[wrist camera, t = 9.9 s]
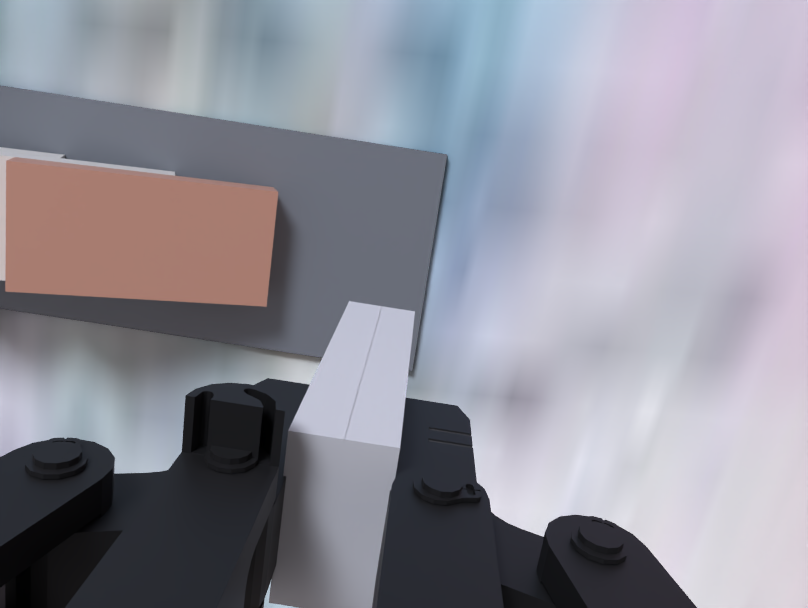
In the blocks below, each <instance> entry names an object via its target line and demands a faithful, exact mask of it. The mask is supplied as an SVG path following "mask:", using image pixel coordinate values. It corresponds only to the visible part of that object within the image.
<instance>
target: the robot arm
mask: <svg viewBox="0 0 808 608" xmlns="http://www.w3.org/2000/svg"><path fill="white" fill-rule="evenodd" d="M414 316H415V311H409V310H403V309H396V308H390V307H384V306H377V305H371V304H364V303H358V302H351V301H349V303H348V305H347V307H346V309H345V311H344V313H343V315H342V317H341V320H340V322H339V324H338V326H337V328H336V330H335V332H334V334H333V337H332V339H331V341H330V343H329V345H328V347H327V349H326V351H325V354H324V356H323V358H322V360H321V362H320V364H319V366H318V368H317V371H316V373H315V375H314V377H313V379H312V381H311V383H310V385H307V384H301V383H295V382H288V381H282V380H276V379H269V378H268V379H266V380H263V381H261V382H259V383H257V384H255V385H249V384H238V383H223V384H211V385H208V386H204V387H201V388H197V389H195V390H193V391H192V392H190V393H189V394H187V395H186V399H185V414H184V429H183V444H182V452H181V454H180V455H179V456H178V458H177V459H176V460H175V462H174V463H173V464H172V466H171V467H170V468H169V470H167V471H162V472H152V473H127V474H114V462H115V457H114V456H113V455H112V453H111V452H110V451H109V449H108V448H106V447H104V446H102V445H99V444H97V443H95V442H91V441H85V440H80V439H77V438H67V439H64V438H53V439H50V440H46V441H41V442H35V443H31V444H29V445H26V446H24V447H21V448H18V449H16V450H13V451H11V452H9V453H8V454H6V455H4V456H2V457H0V608H263V607H264V598H265V595H266V593H267V590H268V587H269V584H270V581H271V588H270V597H269V603H274V604H281V605H287V606H293V607H300V608H697V607H696V606H695V605H694V604H693V602H692V601H691V600H690V599H689V598H688V596H687V595H686V594H685V593H684V592H683V590H682V589H681V588H680V587H679V585H678V584H677V583H676V582H675V581H674V579H673V578H672V577H671V576H670V575H669V573H668V572H667V571H666V570H665V569H664V567H663V566H662V565H661V564H660V563H659V561H658V560H657V559H656V558H655V557H654V555H653V554H652V553H651V552H650V551H649V549H648V548H647V547H646V546H645V545H644V544H643V543H642V542H641V541H640V540H638V539H637V538H636V537H635V536H634V535H633V534H631V533H630V532H628V531H626V530H624V529H622V528H621V527H619V526H617V525H616V524H615V523H612V522H610V521H607V520H605V521H604V520H602V518H598V517H594V516H590V517H589V516H581V515H570V516H561V517H558V518H557V519H555V520H553V521H551V522H550V523H549V524H548V527H547V529H546V532H545V535H544V537H542V536H539V535H536V534H533V533H531V532H528V531H525V530H522V529H520V528H517V527H515V526H513V525H511V524H508V523H506V522H505V521H503V520H502V519H500V518H498V517H497V516H495V515H494V514H493V513H492V512H491V508H490V501H489V498H488V495H487V493H486V491H485V489H484V488H483V487H482V486H480V485H479V484H478V483H477V481H476V472H475V463H474V454H473V448H472V436H471V427H470V419H469V418H468V417H467V416H466V415H465V414H464V413H463V412H462V411H461V409H460V408H459V407H458V406H455V405H449V404H442V403H436V402H430V401H423V400H417V399H410V398H406V389H407V380H408V371H409V362H410V353H411V344H412V334H413V325H414Z"/></svg>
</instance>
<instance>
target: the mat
mask: <svg viewBox="0 0 808 608" xmlns="http://www.w3.org/2000/svg"><path fill="white" fill-rule="evenodd" d="M0 147H4V148H12V149H20V150H29V151H37V152H46V153H54V154H62V155H65V159H72V160H80V161H88V162H97V163H105V164H114V165H122V166H131V167H139V168H148V169H156V170H164V171H173V172H175V176H182V177H191V178H199V179H208V180H216V181H225V182H234V183H242V184H251V185H259V186H268V187H274V188H275V189H276V190H277V191H278V200H277V210H276V220H275V229H274V239H273V249H272V258H271V268H270V278H269V287H268V297H267V307H264V306H247V305H230V304H212V303H195V302H178V301H160V300H143V299H126V298H108V297H91V296H74V295H56V294H39V293H22V292H5V281H2V280H0V308H1V309H8V310H14V311H21V312H27V313H34V314H40V315H47V316H53V317H60V318H66V319H73V320H80V321H86V322H93V323H99V324H106V325H112V326H119V327H125V328H132V329H138V330H145V331H151V332H158V333H164V334H171V335H177V336H184V337H190V338H197V339H203V340H210V341H217V342H223V343H230V344H236V345H243V346H249V347H256V348H262V349H269V350H275V351H282V352H288V353H295V354H301V355H308V356H314V357H321V358H323V356H324V354H325V351H326V349H327V347H328V345H329V343H330V341H331V339H332V337H333V334H334V332H335V330H336V328H337V326H338V324H339V322H340V320H341V317H342V315H343V313H344V311H345V309H346V307H347V305H348V303H349V301H351V302H358V303H364V304H371V305H377V306H384V307H390V308H396V309H403V310H409V311H415V316H414V325H413V334H412V344H411V353H410V362H409V371H412V370H413V363H414V357H415V351H416V345H417V339H418V333H419V326H420V320H421V314H422V308H423V302H424V295H425V289H426V283H427V277H428V271H429V264H430V258H431V252H432V246H433V240H434V234H435V227H436V221H437V215H438V209H439V203H440V196H441V190H442V184H443V178H444V172H445V165H446V159H447V155H446V154H440V153H433V152H427V151H420V150H414V149H407V148H401V147H395V146H388V145H382V144H375V143H369V142H362V141H356V140H349V139H343V138H336V137H330V136H323V135H317V134H310V133H304V132H297V131H291V130H284V129H278V128H271V127H265V126H259V125H252V124H246V123H239V122H233V121H226V120H220V119H213V118H207V117H200V116H194V115H187V114H181V113H174V112H168V111H161V110H155V109H148V108H142V107H136V106H129V105H123V104H116V103H110V102H103V101H97V100H90V99H84V98H77V97H71V96H64V95H58V94H51V93H45V92H38V91H32V90H25V89H19V88H12V87H6V86H0Z"/></svg>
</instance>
